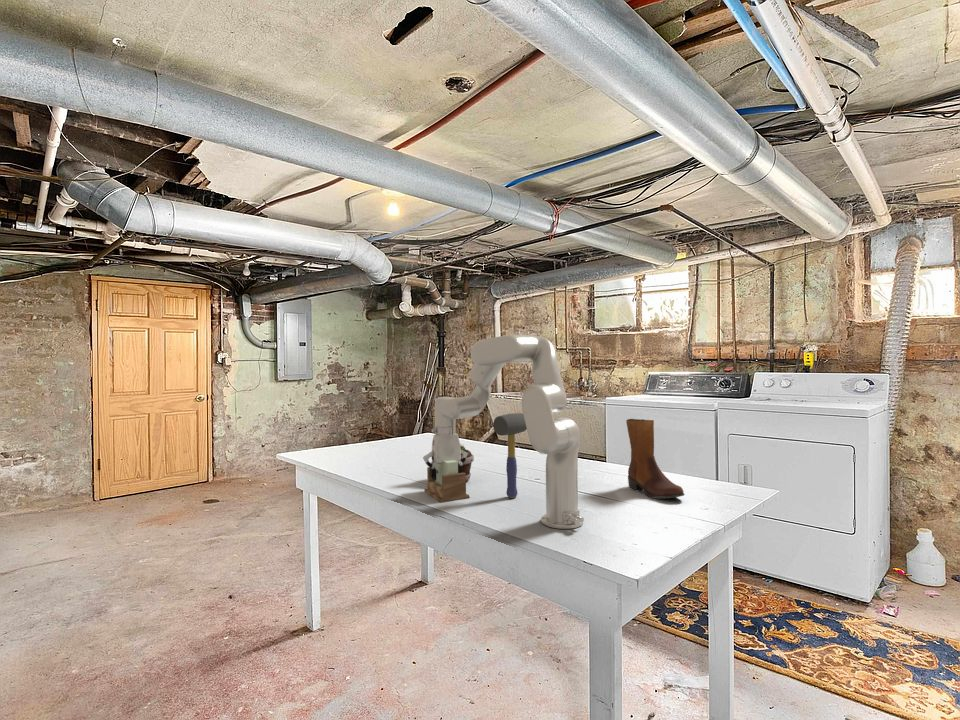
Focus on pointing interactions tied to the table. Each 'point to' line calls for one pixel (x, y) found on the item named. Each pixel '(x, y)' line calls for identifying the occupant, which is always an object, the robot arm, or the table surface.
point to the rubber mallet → (510, 445)
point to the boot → (647, 463)
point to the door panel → (445, 470)
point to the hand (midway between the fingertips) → (446, 477)
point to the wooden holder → (447, 487)
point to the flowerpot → (467, 462)
